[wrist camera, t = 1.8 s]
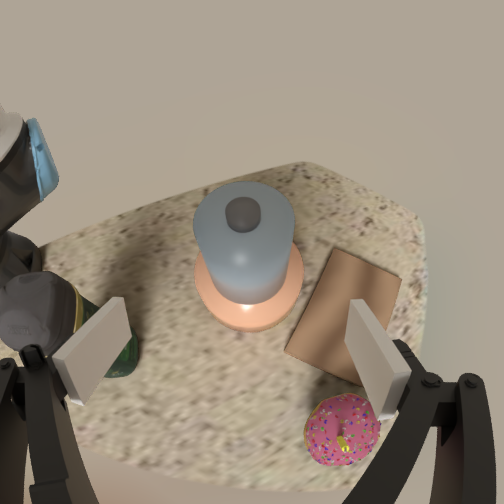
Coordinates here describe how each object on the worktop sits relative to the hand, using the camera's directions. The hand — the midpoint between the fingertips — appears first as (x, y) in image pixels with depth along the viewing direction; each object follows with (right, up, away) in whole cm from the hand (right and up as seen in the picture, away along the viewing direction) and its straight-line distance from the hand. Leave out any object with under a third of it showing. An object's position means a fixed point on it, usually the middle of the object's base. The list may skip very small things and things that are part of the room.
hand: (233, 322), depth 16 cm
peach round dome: (+1, -1, +23) cm, 23 cm away
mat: (+14, -4, +20) cm, 25 cm away
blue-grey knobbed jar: (+1, +2, +18) cm, 18 cm away
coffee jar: (-18, -10, +19) cm, 28 cm away
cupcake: (+11, -17, +13) cm, 24 cm away
